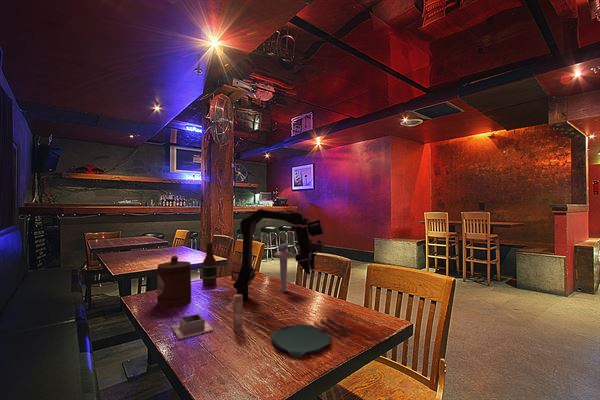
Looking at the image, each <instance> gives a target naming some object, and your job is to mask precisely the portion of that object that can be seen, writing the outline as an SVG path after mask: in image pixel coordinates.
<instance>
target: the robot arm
mask: <svg viewBox="0 0 600 400" xmlns="http://www.w3.org/2000/svg"><path fill="white" fill-rule="evenodd" d="M263 219H271V220H277V221H284V222H286V223H288V224H292V227H291V229H290V232H294V233H295V237H296V240H297V242H296V246H298V250H299V251H298V253H297V254H296V255H295V256H294V258H295V262H297V263H298V265H300V267H301V268H302V269H303V271H304V272H305V273H306V274H307V276H308V275H311V270H312V271H314V270H315V269H316V268H315V267H316V266H315V260H316V256H317V254H318V252H321V253H322V252H323V251H324V247H325V245H324V242H323V241H322V240H321V239H317V241H312V239H311V238H310V236H311V237H316V236H319V235H320V236H321V235H324V234H325V227H324V225H323V223H322V220H321V219H316V220H313V221H310V220H309V219H308V218H306V215H305V214H304V213H303V212H301V211H294V212H292V211H291V212H285V211H284V212H282V211H276V210H269V209H264V208H261V209H257V210H256V211H255V212H253V213H252V214H250V215H249V216H247V217H246V218H243V219H241V220H240V223H239V226H240V227H239V228H240V232H241V234H242V235H241V236H242V252H241V253H242V257H241V261H242V267H241V269H240V271H239V275H238V280H235V281H234V283H233V284H232V286H233V289H235V290H236V295H237V294H240V295H243V302H245V301H246V302H247V301H251V300H252V298H251V297H250V296H249V286H250V285H251V284H252V282H253V281H255V277H256V268H253V266H252V264H253V262H252V260H253V241H254V234H255V232H256V229H257V224H259V223H260V222H261V221H262V220H263ZM309 235H310V236H309Z"/></svg>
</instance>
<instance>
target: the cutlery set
mask: <svg viewBox="0 0 600 400" xmlns="http://www.w3.org/2000/svg"><path fill="white" fill-rule="evenodd" d="M326 321H327V322H326ZM326 321H325V320H323V319H321V320H320V323H321V324H324V325H326V326H328V327H329V328H331V329H333V331H335V333H334V332H332V331H330V330H329V329H328V327H327V328H326V327H323V326H322V325H319V324H318V323H316V322H314V323H313V325H310V324H303V323H302V324H301V323H300V324H299V323H298V324H293V325H289V326H284V327H281V328H279V329H277V330H274V331H273V332H272V334H271V336H270V340H271V342H272V344H273V345H274V346H275V347H276V348H277V349H279V350H281V351H282V352H287V353H289V354H290V356H291V357H292V358H296V359H299V358H301V357H302V356H303V355H309V354H311V355H312V354H314V353H319V352H321V351H323V350H325V349H327V347H328V346H331V344H332V343H331V342H332V336H333V337H334V338H337V339H339V340H341V339H342V337H347V336H349V334H351V335H353V334H355V332H354V331H353V330H351V329H349V328H348V327H347V326H344V325H341V324H338V323H337V322H335V321H334V320H332V319H330V318H329V317H327V318H326ZM328 322H330V323H331V324H333V325H335V326H337V327H339V328H341V329H339V328H335V327H333V326H332V325H331V324H329V323H328ZM314 325H316V326H318V327H320V328H321V329H320V328H318V327H315V326H314ZM339 332H343V333H345V334H346V335H344V334H341V333H339ZM329 334H330V335H329ZM331 335H332V336H331ZM341 336H342V337H341Z"/></svg>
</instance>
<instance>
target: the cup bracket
mask: <svg viewBox="0 0 600 400" xmlns="http://www.w3.org/2000/svg"><path fill="white" fill-rule="evenodd" d="M171 327H172V328H171V330H172V331H173V333H174V332H175V333H174V335H175V334H176V335H175V336H176V338H177V337H178V338H177V340H178V339H181V340H184V339H183V338H185V339H187V338H186V337H189V338H191V337H190V336H192V337H196V336H199V334H200V335H203V334H202V333H204V334H206V332H208V333H211V332H213V331H214V328H213V327H212V326H211V325H210V324H209V322H208V321H207V320H206V319H205V318H204V317H203V316H202V315H201V314H200V313H195V314H190V315H185V316H181V317H179V323H177V324H173V325H172V324H171ZM210 331H211V332H210ZM195 335H196V336H195Z"/></svg>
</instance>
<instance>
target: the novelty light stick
mask: <svg viewBox="0 0 600 400" xmlns="http://www.w3.org/2000/svg"><path fill="white" fill-rule="evenodd" d="M277 248H278V250H279V251H277V252H274V254H273V256H274V257H275V258H278V259H279V272H280V273H279V275H280V291H281V292H282V293H285V292H287V280H288V279H287V275H288V274H287V273H288V259H289V258H292V257H293V256H294V253H293V252H291V251H288V249H289V246H288V244H286V243H281V244H279V245H278V247H277Z"/></svg>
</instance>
